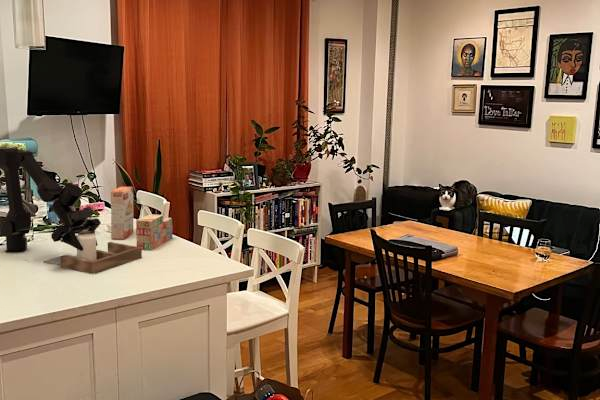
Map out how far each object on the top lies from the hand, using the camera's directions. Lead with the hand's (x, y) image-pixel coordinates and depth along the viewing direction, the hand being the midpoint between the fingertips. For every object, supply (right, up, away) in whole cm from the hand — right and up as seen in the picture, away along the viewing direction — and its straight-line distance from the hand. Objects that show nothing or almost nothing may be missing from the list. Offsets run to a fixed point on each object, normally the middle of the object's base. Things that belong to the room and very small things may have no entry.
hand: (89, 247), depth 209 cm
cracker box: (-2, +1, +46) cm, 46 cm away
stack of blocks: (+15, -1, +35) cm, 38 cm away
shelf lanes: (+3, -6, +6) cm, 9 cm away
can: (-2, -7, +2) cm, 7 cm away
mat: (-11, -5, +6) cm, 14 cm away
